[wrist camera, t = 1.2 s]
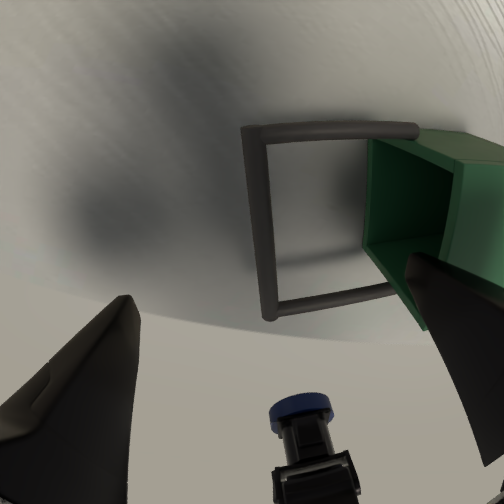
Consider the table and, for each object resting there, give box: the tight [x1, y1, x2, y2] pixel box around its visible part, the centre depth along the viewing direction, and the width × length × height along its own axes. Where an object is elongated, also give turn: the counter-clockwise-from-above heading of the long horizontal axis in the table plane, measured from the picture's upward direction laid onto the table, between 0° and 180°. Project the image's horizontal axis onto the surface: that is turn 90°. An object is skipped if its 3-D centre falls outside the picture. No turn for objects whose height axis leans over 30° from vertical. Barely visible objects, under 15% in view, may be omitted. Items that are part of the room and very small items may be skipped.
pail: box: [240, 121, 504, 331], centre depth 12 cm, size 14×8×7 cm, turn 96°
